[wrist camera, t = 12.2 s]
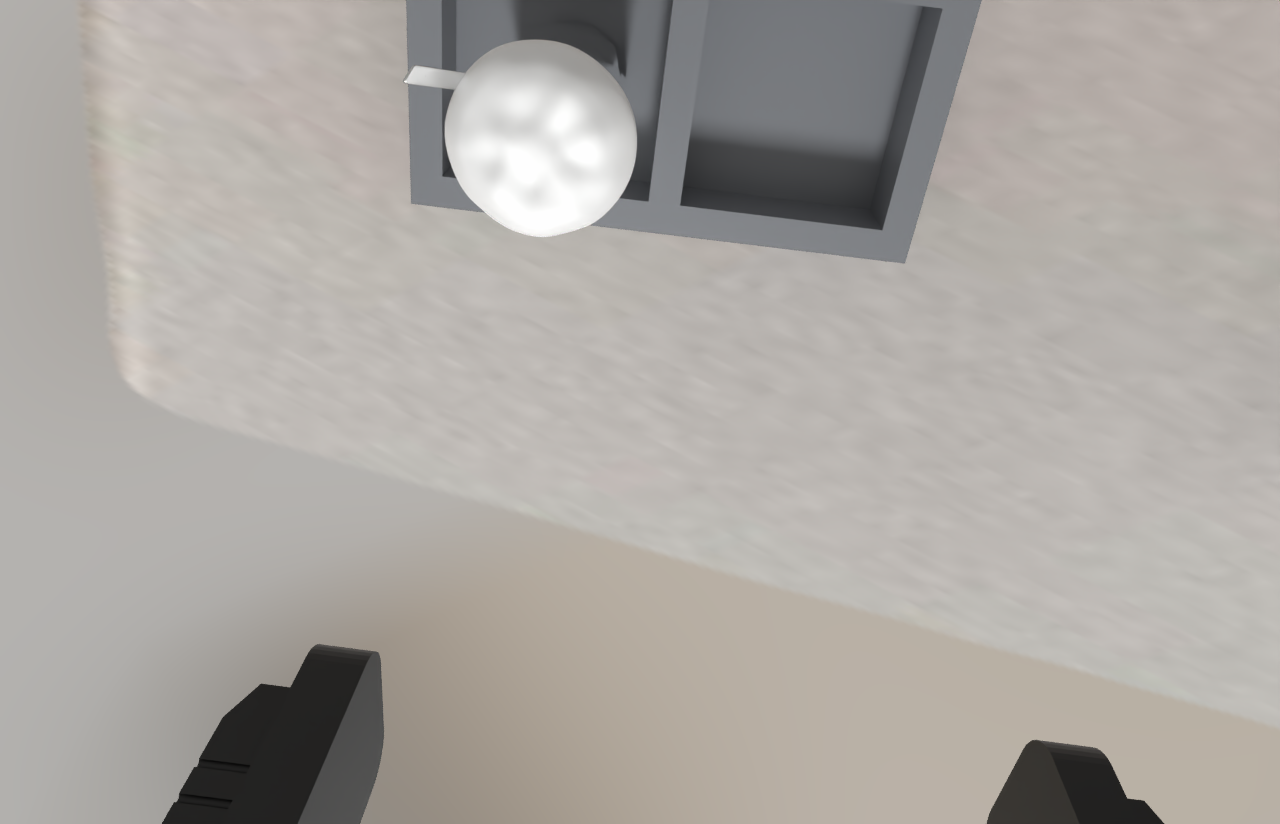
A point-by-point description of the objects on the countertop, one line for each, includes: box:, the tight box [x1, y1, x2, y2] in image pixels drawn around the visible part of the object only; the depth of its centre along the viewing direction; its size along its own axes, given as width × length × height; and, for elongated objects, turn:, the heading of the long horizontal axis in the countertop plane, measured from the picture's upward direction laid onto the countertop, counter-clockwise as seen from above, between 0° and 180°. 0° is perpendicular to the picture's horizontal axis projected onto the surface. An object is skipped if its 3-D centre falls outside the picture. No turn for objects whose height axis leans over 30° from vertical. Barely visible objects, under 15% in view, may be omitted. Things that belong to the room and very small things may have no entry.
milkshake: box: [403, 22, 637, 237], centre depth 23 cm, size 4×5×10 cm
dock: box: [406, 0, 982, 263], centre depth 26 cm, size 16×12×3 cm
